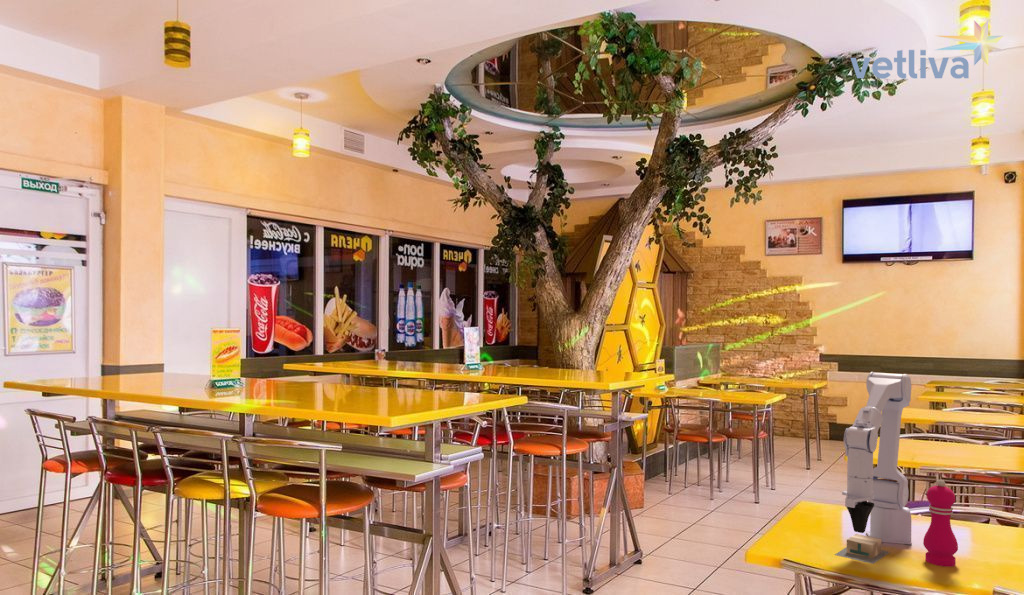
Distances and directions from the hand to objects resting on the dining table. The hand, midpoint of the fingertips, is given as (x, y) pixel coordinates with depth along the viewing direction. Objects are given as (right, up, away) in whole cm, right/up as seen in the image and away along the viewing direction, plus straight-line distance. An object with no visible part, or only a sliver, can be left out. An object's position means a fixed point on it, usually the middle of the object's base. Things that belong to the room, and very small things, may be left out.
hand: (859, 531), depth 180 cm
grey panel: (+2, -6, +2) cm, 6 cm away
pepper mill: (+18, -7, -4) cm, 19 cm away
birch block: (0, -4, 0) cm, 4 cm away
